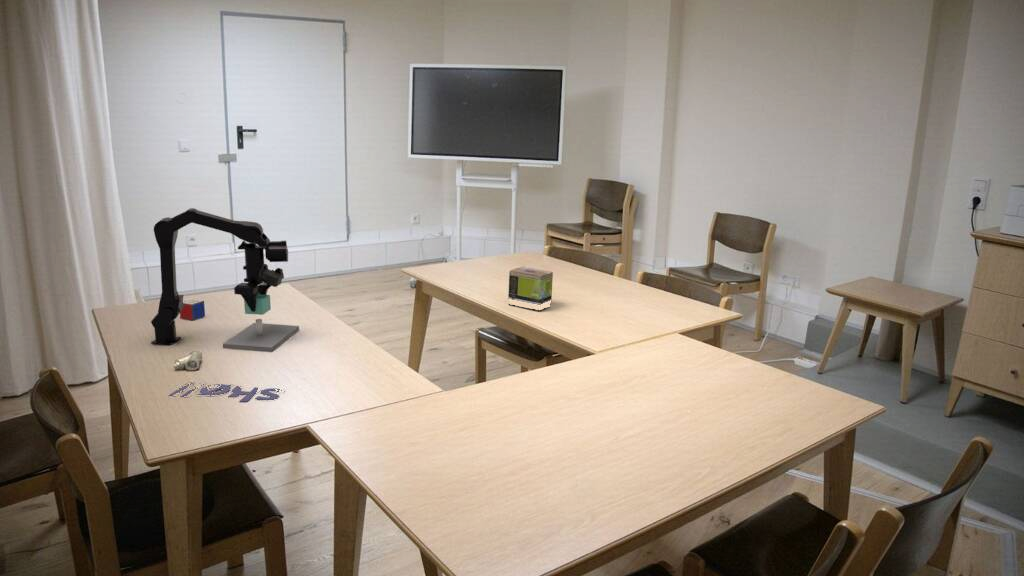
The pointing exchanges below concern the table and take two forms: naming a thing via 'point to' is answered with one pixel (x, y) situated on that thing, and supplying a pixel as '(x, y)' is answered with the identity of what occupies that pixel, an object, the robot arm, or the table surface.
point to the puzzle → (192, 309)
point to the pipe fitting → (189, 361)
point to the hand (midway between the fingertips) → (257, 308)
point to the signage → (235, 391)
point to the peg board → (261, 337)
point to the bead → (259, 305)
